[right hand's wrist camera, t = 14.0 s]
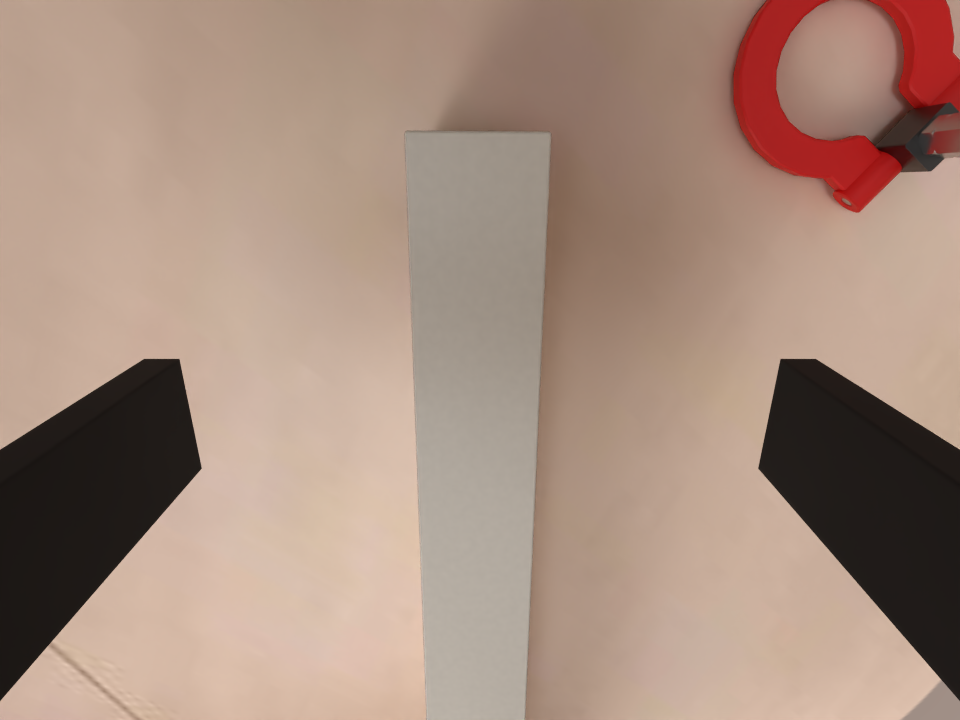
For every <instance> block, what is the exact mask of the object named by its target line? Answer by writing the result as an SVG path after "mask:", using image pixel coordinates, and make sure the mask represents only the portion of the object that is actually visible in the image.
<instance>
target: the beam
mask: <svg viewBox="0 0 960 720" xmlns="http://www.w3.org/2000/svg"><path fill="white" fill-rule="evenodd" d="M404 135H405V161H406V188H407V214H408V241H409V268H410V294H411V321H412V348H413V374H414V401H415V428H416V454H417V481H418V508H419V534H420V561H421V588H422V614H423V641H424V667H425V694H426V720H525V715H526V693H527V670H528V648H529V625H530V603H531V581H532V558H533V536H534V513H535V491H536V469H537V446H538V424H539V401H540V379H541V357H542V334H543V312H544V289H545V267H546V245H547V222H548V200H549V177H550V155H551V132H549V131H405V134H404Z"/></svg>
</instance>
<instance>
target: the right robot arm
mask: <svg viewBox="0 0 960 720" xmlns="http://www.w3.org/2000/svg"><path fill="white" fill-rule="evenodd" d="M201 469H202V468H201V463H200V458H199V453H198V448H197V443H196V438H195V433H194V428H193V424H192V419H191V414H190V409H189V404H188V399H187V394H186V389H185V384H184V379H183V375H182V370H181V365H180V360H179V359H144V360H142V361H140V362H139V363H137V364H136V365H134V366H132V367H131V368H129V369H128V370H126V371H124V372H123V373H121V374H120V375H118V376H117V377H115V378H113V379H112V380H110V381H109V382H107V383H105V384H104V385H102V386H101V387H99V388H98V389H96V390H94V391H93V392H91V393H90V394H88V395H86V396H85V397H83V398H82V399H80V400H78V401H77V402H75V403H74V404H72V405H71V406H69V407H67V408H66V409H64V410H63V411H61V412H59V413H58V414H56V415H55V416H53V417H52V418H50V419H48V420H47V421H45V422H44V423H42V424H40V425H39V426H37V427H36V428H34V429H32V430H31V431H29V432H28V433H26V434H25V435H23V436H21V437H20V438H18V439H17V440H15V441H13V442H12V443H10V444H9V445H7V446H6V447H4V448H2V449H1V450H0V700H1V699H2V698H3V697H4V696H5V695H6V694H7V692H8V691H9V690H10V689H11V688H12V687H13V685H14V684H15V683H16V682H17V681H18V680H19V679H20V677H21V676H22V675H23V674H24V673H25V672H26V670H27V669H28V668H29V667H30V666H31V665H32V664H33V662H34V661H35V660H36V659H37V658H38V657H39V655H40V654H41V653H42V652H43V651H44V650H45V649H46V647H47V646H48V645H49V644H50V643H51V642H52V640H53V639H54V638H55V637H56V636H57V635H58V634H59V632H60V631H61V630H62V629H63V628H64V627H65V625H66V624H67V623H68V622H69V621H70V620H71V619H72V617H73V616H74V615H75V614H76V613H77V612H78V610H79V609H80V608H81V607H82V606H83V605H84V604H85V602H86V601H87V600H88V599H89V598H90V597H91V595H92V594H93V593H94V592H95V591H96V590H97V589H98V587H99V586H100V585H101V584H102V583H103V582H104V580H105V579H106V578H107V577H108V576H109V575H110V574H111V572H112V571H113V570H114V569H115V568H116V567H117V565H118V564H119V563H120V562H121V561H122V560H123V559H124V557H125V556H126V555H127V554H128V553H129V552H130V551H131V549H132V548H133V547H134V546H135V545H136V544H137V542H138V541H139V540H140V539H141V538H142V537H143V536H144V534H145V533H146V532H147V531H148V530H149V529H150V527H151V526H152V525H153V524H154V523H155V522H156V521H157V519H158V518H159V517H160V516H161V515H162V514H163V512H164V511H165V510H166V509H167V508H168V507H169V506H170V504H171V503H172V502H173V501H174V500H175V499H176V497H177V496H178V495H179V494H180V493H181V492H182V491H183V489H184V488H185V487H186V486H187V485H188V484H189V482H190V481H191V480H192V479H193V478H194V477H195V476H196V474H197V473H198V472H199V471H200V470H201ZM758 469H759V470H760V471H761V472H762V473H763V474H764V476H765V477H766V478H767V479H768V480H769V481H770V482H771V484H772V485H773V486H774V487H775V488H776V489H777V491H778V492H779V493H780V494H781V495H782V496H783V497H784V499H785V500H786V501H787V502H788V503H789V504H790V506H791V507H792V508H793V509H794V510H795V511H796V512H797V514H798V515H799V516H800V517H801V518H802V519H803V521H804V522H805V523H806V524H807V525H808V526H809V527H810V529H811V530H812V531H813V532H814V533H815V534H816V536H817V537H818V538H819V539H820V540H821V541H822V542H823V544H824V545H825V546H826V547H827V548H828V549H829V551H830V552H831V553H832V554H833V555H834V556H835V557H836V559H837V560H838V561H839V562H840V563H841V564H842V565H843V567H844V568H845V569H846V570H847V571H848V572H849V574H850V575H851V576H852V577H853V578H854V579H855V580H856V582H857V583H858V584H859V585H860V586H861V587H862V589H863V590H864V591H865V592H866V593H867V594H868V595H869V597H870V598H871V599H872V600H873V601H874V602H875V604H876V605H877V606H878V607H879V608H880V609H881V610H882V612H883V613H884V614H885V615H886V616H887V617H888V619H889V620H890V621H891V622H892V623H893V624H894V625H895V627H896V628H897V629H898V630H899V631H900V632H901V634H902V635H903V636H904V637H905V638H906V639H907V640H908V642H909V643H910V644H911V645H912V646H913V647H914V649H915V650H916V651H917V652H918V653H919V654H920V655H921V657H922V658H923V659H924V660H925V661H926V662H927V664H928V665H929V666H930V667H931V668H932V669H933V670H934V672H935V673H936V674H937V675H938V676H939V677H940V679H941V680H942V681H943V682H944V683H945V684H946V685H947V687H948V688H949V689H950V690H951V691H952V692H953V694H954V695H955V696H956V697H957V698H958V699H959V700H960V450H959V449H958V448H956V447H954V446H953V445H951V444H950V443H948V442H947V441H945V440H943V439H942V438H940V437H939V436H937V435H935V434H934V433H932V432H931V431H929V430H928V429H926V428H924V427H923V426H921V425H920V424H918V423H916V422H915V421H913V420H912V419H910V418H908V417H907V416H905V415H904V414H902V413H901V412H899V411H897V410H896V409H894V408H893V407H891V406H889V405H888V404H886V403H885V402H883V401H882V400H880V399H878V398H877V397H875V396H874V395H872V394H870V393H869V392H867V391H866V390H864V389H862V388H861V387H859V386H858V385H856V384H855V383H853V382H851V381H850V380H848V379H847V378H845V377H843V376H842V375H840V374H839V373H837V372H836V371H834V370H832V369H831V368H829V367H828V366H826V365H824V364H823V363H821V362H820V361H818V360H816V359H781V360H780V365H779V370H778V375H777V379H776V384H775V389H774V394H773V399H772V404H771V409H770V414H769V419H768V424H767V428H766V433H765V438H764V443H763V448H762V453H761V458H760V463H759V468H758Z"/></svg>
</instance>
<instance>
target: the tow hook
mask: <svg viewBox="0 0 960 720" xmlns="http://www.w3.org/2000/svg"><path fill="white" fill-rule="evenodd" d="M827 1H829V0H767V1H766V2H765V4H764V5H763V6H762V7H761V9H760V10H759V11H758V12H757V14H756V15H755V16H754V18H753V20H752V22H751V24H750V26H749V28H748V30H747V32H746V34H745V36H744V38H743V41H742V43H741V45H740V49H739V53H738V57H737V62H736V66H735V70H734V105H735V109H736V112H737V116H738V120H739V123H740V127H741V129H742V131H743V132H744V134H745V136H746V137H747V139H748V141H749V142H750V144H751V146H752V147H753V149H754V150H755V151H756V152H757V153H758V154H760V155H761V156H762V157H763V158H764V159H765V160H766V161H768V162H769V163H770V164H771V165H772V166H774V167H777V168H779V169H781V170H783V171H786V172H788V173H790V174H793V175H796V176H804V177H812V178H823V179H824V180H825V181H826V182H827V183H828V184H829V185H830V186H831V187H832V188H833V189H834V190H835V191H834V192H833V197H834V198H835V200H836V201H837V202H838V203H839V204H840V205H842V206H843V207H845V208H846V209H848V210H850V211H853V212H856V213H857V212H860V211H861V210H862V209H863V208H864V207H865V206H866V205H867V204H868V203H869V202H870V201H871V200H872V199H873V198H874V197H875V196H876V195H877V194H878V193H879V192H880V191H881V190H882V189H883V188H884V187H885V186H886V185H887V184H888V183H889V182H890V181H891V180H892V179H893V178H895V177H896V176H897V175H898V174H899V173H900V172H923V171H932V170H933V169H934V168H935V167H936V166H937V165H938V164H939V163H940V162H941V161H942V160H943V159H944V158H953V157H960V60H959V59H958V58H957V57H956V55H955V54H954V53H953V43H954V33H953V27H952V21H951V15H950V9H949V6H948V4H947V2H946V0H868V1H870V2H872V3H874V4H877V5H879V6H881V7H882V8H883V9H884V10H885V11H886V12H887V13H888V14H889V15H890V16H891V17H892V18H893V19H894V21H895V23H896V25H897V27H898V29H899V31H900V33H901V36H902V41H903V46H904V66H903V73H902V76H901V79H900V82H899V91H900V93H901V94H902V95H903V96H904V97H905V98H906V99H907V101H908V102H909V103H910V104H911V105H912V106H913V107H914V108H915V109H912V110H910V111H909V112H908V113H907V114H906V115H905V116H904V117H903V118H902V119H901V120H900V121H899V122H898V123H897V124H896V125H895V126H894V127H893V128H892V129H891V130H890V131H889V132H888V133H887V134H886V135H885V136H884V137H883V138H882V140H881V141H880V142H879V143H878V144H877V145H876V146H874V145H873V144H872V143H871V142H870V141H869V140H868V139H867V138H866V137H865V136H859V135H857V136H849V137H847V138H844V139H842V140H835V141H828V140H820V139H815V138H813V137H810V136H808V135H806V134H804V133H802V132H800V131H799V130H798V129H797V128H796V127H795V126H794V125H793V124H791V123H790V122H789V120H788V119H787V117H786V115H785V114H784V112H783V110H782V109H781V107H780V103H779V99H778V95H777V91H776V70H777V67H778V63H779V59H780V55H781V51H782V49H783V47H784V45H785V43H786V41H787V39H788V37H789V35H790V33H791V32H792V31H793V29H794V28H795V27H796V26H797V25H798V23H799V22H800V21H801V20H802V18H803V17H804V16H805V15H807V14H808V13H809V12H810V11H812V10H813V9H814V8H816V7H817V6H818V5H821V4H823V3H825V2H827Z"/></svg>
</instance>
